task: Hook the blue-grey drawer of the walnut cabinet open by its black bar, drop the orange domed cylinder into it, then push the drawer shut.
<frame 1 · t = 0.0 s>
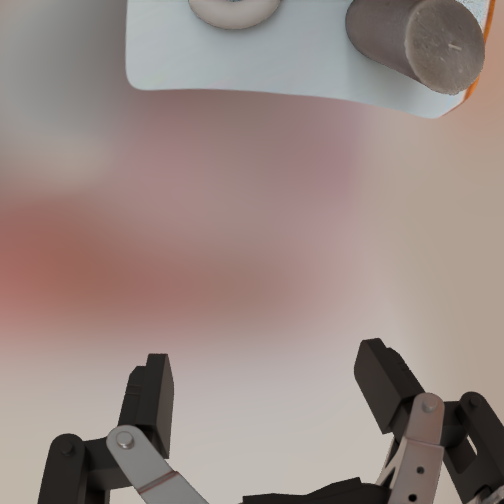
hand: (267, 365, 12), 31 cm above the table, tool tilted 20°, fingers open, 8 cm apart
pillar candle: (380, 26, 28), on the table
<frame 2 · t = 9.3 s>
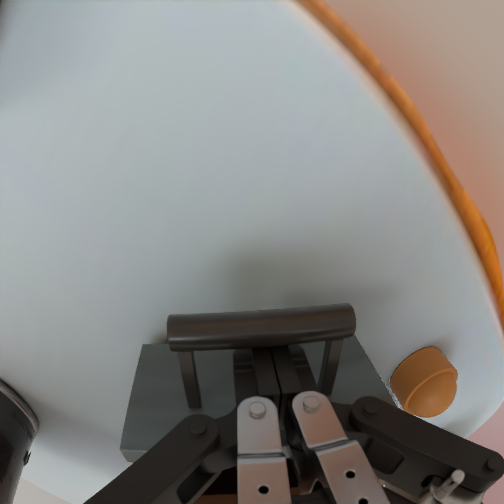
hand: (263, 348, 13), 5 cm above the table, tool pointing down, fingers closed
drawer: (257, 438, 16), point 5 cm above the table, slide at 3.4 cm, touching gripper
cabinet: (249, 441, 23), on the table
orange domed cylinder: (416, 370, 22), on the table
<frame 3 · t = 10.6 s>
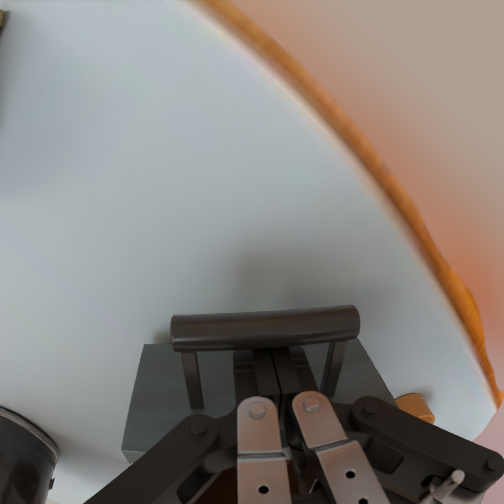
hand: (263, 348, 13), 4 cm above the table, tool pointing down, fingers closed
drawer: (258, 439, 16), point 5 cm above the table, slide at 8.7 cm, touching gripper
pillar candle: (396, 473, 32), on the table
orange domed cylinder: (398, 412, 24), on the table
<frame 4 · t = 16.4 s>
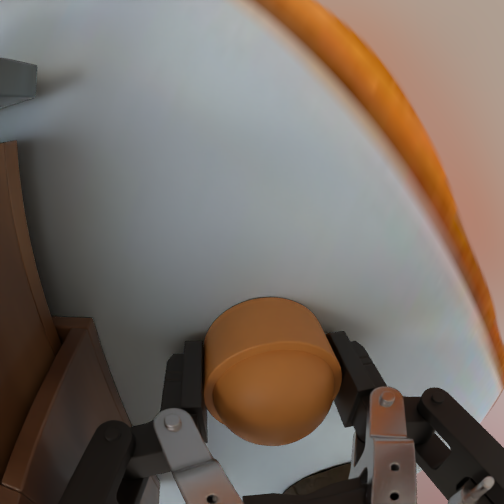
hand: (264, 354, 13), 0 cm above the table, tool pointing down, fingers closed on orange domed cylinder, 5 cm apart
cabinet: (36, 413, 14), on the table
pillar candle: (334, 484, 21), on the table
orange domed cylinder: (264, 347, 13), on the table, touching gripper
when the fingers open (7 cm above the table, at t = 22.8 s): orange domed cylinder stays where it is, resting on drawer.
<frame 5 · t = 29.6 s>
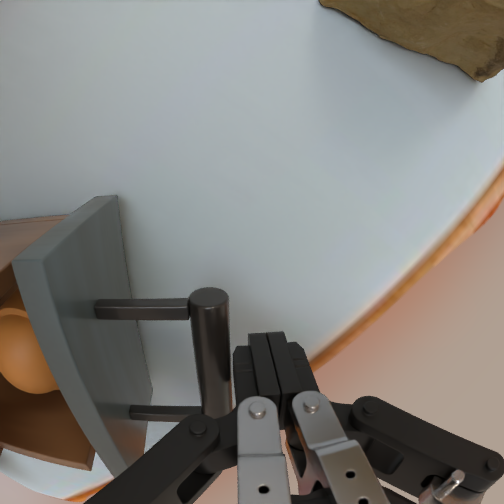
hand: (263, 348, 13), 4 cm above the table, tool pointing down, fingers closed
drawer: (33, 347, 12), point 5 cm above the table, slide at 8.6 cm, touching orange domed cylinder, gripper
rock: (416, 28, 12), on the table
orange domed cylinder: (49, 321, 14), point 2 cm above the table, touching drawer
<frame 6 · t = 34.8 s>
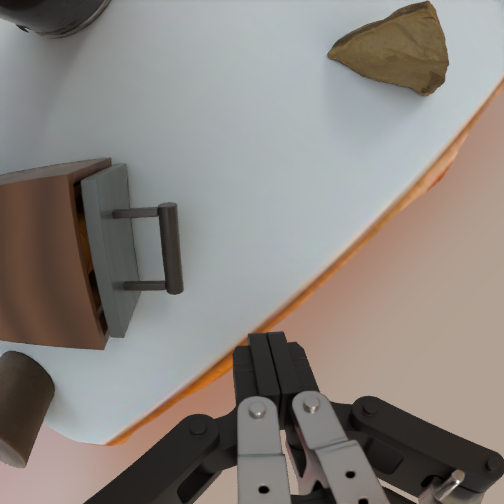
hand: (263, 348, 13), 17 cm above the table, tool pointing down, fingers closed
drawer: (70, 249, 23), point 5 cm above the table, slide at 0.5 cm, touching orange domed cylinder
cabinet: (49, 233, 27), on the table
pillar candle: (27, 375, 34), on the table
rock: (384, 66, 24), on the table
orange domed cylinder: (79, 240, 25), point 2 cm above the table, touching drawer
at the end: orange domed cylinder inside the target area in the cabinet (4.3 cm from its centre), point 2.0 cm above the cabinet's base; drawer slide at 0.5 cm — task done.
